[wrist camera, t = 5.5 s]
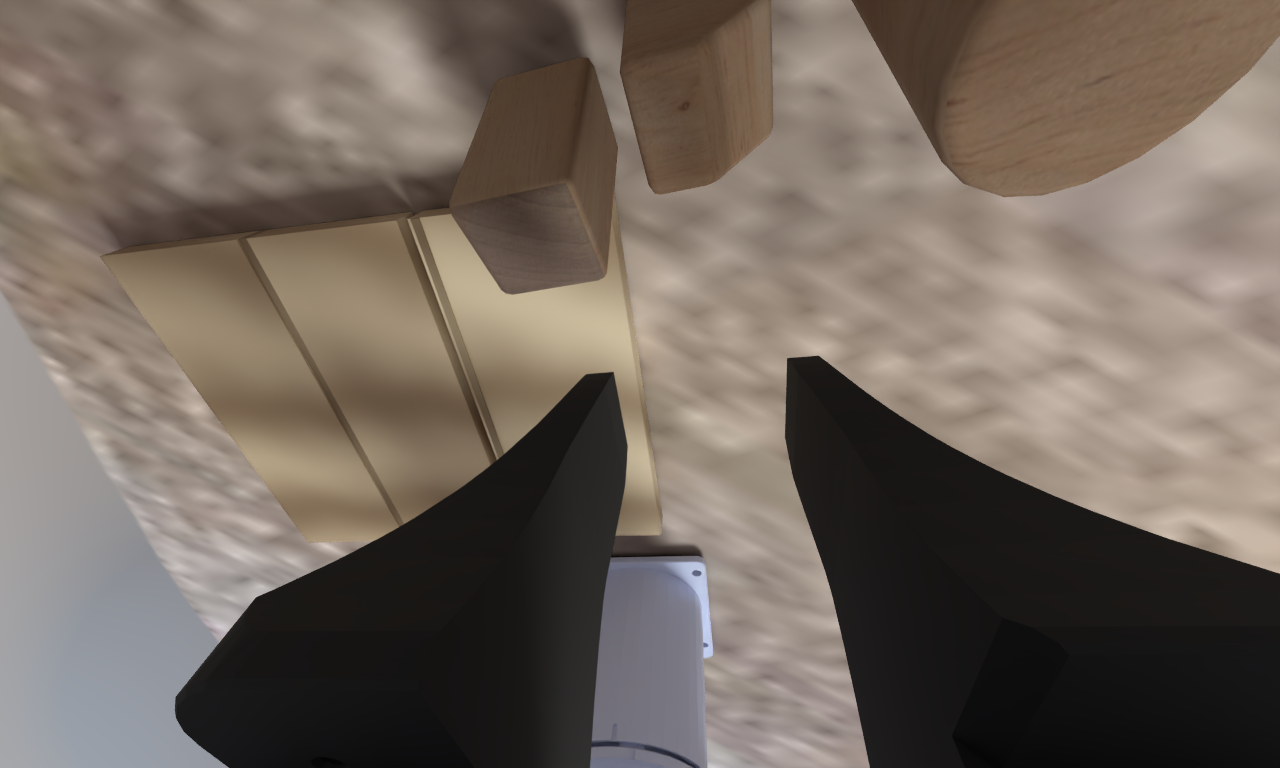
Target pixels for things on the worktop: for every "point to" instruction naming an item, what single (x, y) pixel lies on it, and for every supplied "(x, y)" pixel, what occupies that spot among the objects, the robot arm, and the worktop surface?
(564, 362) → the oak plank
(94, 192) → the worktop surface
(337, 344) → the floor panel
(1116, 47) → the wooden block set
